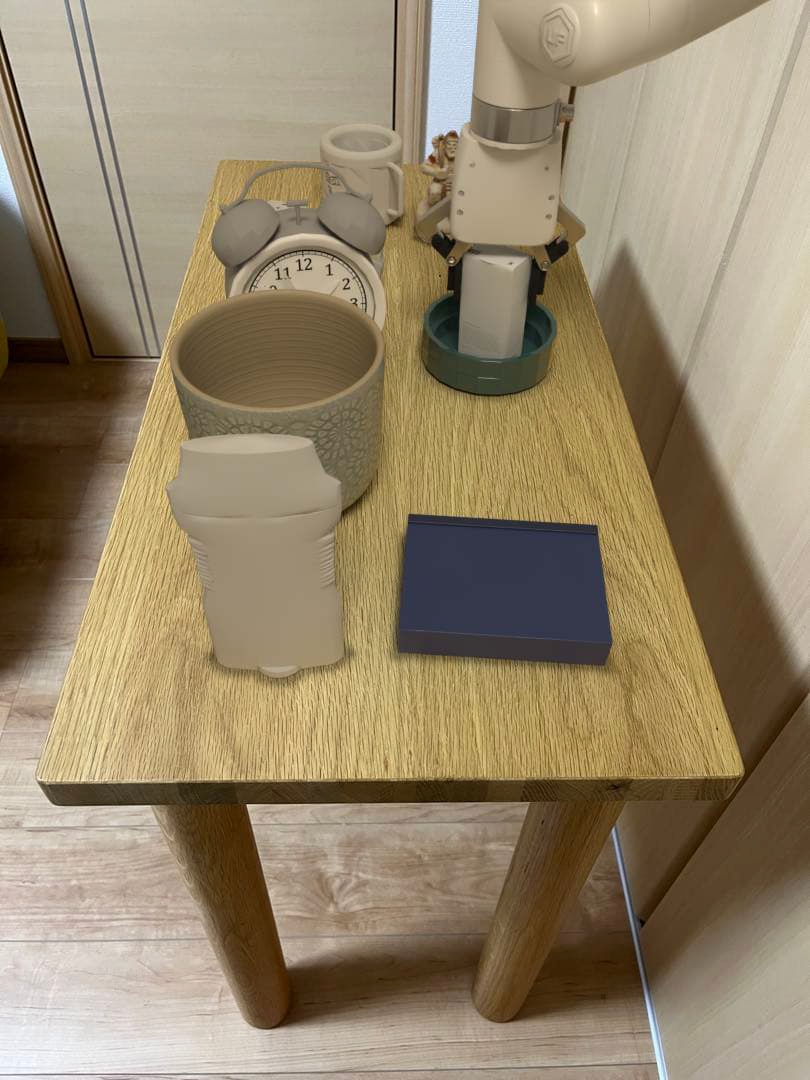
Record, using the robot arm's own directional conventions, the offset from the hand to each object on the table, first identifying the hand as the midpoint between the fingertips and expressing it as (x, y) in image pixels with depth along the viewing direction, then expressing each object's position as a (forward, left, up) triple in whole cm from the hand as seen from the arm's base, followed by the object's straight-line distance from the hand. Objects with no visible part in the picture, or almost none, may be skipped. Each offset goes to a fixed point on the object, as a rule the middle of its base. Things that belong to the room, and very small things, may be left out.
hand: (493, 296), depth 85 cm
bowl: (0, 0, -8) cm, 8 cm away
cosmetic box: (0, 0, -7) cm, 7 cm away
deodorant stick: (+16, +41, -8) cm, 45 cm away
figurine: (+6, -28, -8) cm, 30 cm away
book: (-1, +34, -8) cm, 35 cm away
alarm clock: (+19, +4, -8) cm, 21 cm away
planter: (+18, +22, -8) cm, 29 cm away
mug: (+16, -32, -8) cm, 37 cm away
